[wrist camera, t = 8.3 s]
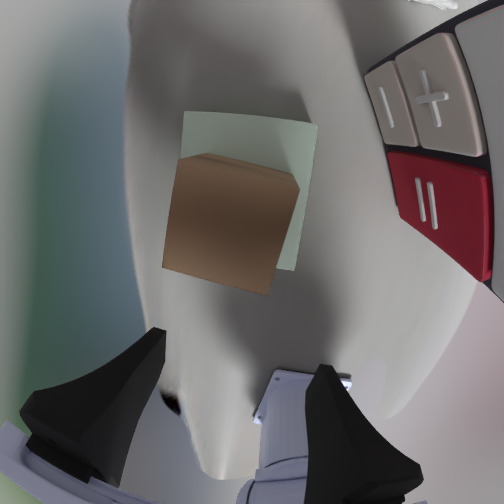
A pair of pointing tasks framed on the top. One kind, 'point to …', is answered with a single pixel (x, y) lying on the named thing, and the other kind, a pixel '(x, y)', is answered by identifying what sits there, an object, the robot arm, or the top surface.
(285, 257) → the block
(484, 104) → the calculator
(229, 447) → the top surface
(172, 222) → the walnut cube
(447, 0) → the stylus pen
